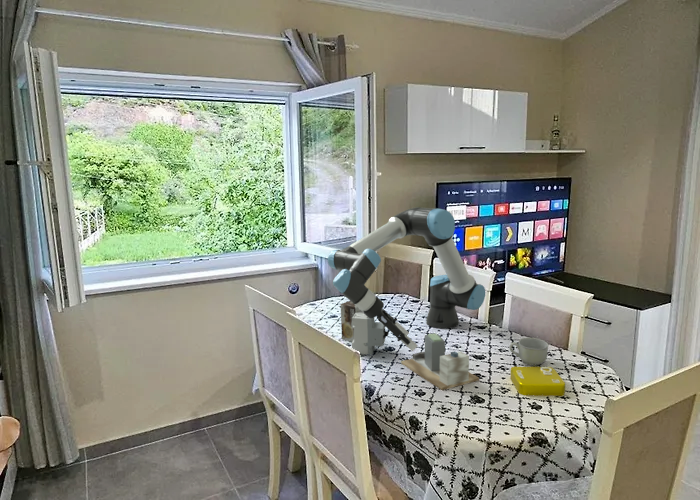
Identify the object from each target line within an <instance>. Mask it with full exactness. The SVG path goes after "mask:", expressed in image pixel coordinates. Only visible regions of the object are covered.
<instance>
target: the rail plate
mask: <svg viewBox="0 0 700 500" xmlns="http://www.w3.org/2000/svg"><path fill="white" fill-rule="evenodd" d="M400 363H401V365H403V366H404V367H406V368H407V369H409V370H410V371H412V372H413V373H414V374H416V375H418V376H419V377H421V378H423V379H424V381H427V382H428V383H430V384H432V385H433V386H435V387H436V388H437V389H439V390H441V391H444V390H448V389H452V388H455V387H459V386H463V385H467V384H470V383H475V382H479V381H480V377H478V376H477V375H475V374H473V373H471V372H470V367H469V366H470V355H469V354H467V353H464V352H463V351H451V352H450V353H448V354H445V355H443V356H440V371H431V370H430V369H429V368H428V366H427V365H426V364H425V350H424V351H420V352H416V353H415V352H414V353H412V358H409V359H405V360H401V361H400Z"/></svg>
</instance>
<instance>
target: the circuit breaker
mask: <svg viewBox="0 0 700 500" xmlns="http://www.w3.org/2000/svg"><path fill="white" fill-rule="evenodd" d="M375 320H376V319H375V317H374V318H372V319H370V318H369V317H367V316H366V315H365V314H364V313H355V314H354V316H353V317H352V323H351V325H352V328H354V340H353V342H351V349H352V348H353V349H355V350H357V351H359V352H360V353H362V354H361V355H367V354H371V355H373V353H374V352H375V349H376V347H383V346H384V344H385V341H386V337H388V336H389V334H390V333H389V331H390V330H386V327H385V326H384V325H383V324H382V323H381V322H377V321H375ZM371 355H370V356H371Z"/></svg>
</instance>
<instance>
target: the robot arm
mask: <svg viewBox="0 0 700 500" xmlns="http://www.w3.org/2000/svg"><path fill="white" fill-rule="evenodd" d="M455 221H456V220H455V218H454V216H453V214H452V213H451V212H450V211H448V210H446V209H442V208H437V207H436V208H431V207H430V208H429V207H420V206H418V207H412V208H407V209H405V210H402V211H401V212H399V213H397V214H395V215H393V216H391V217H390V218H389V219H388V222H386V223H385V224H383V225H382V226H380V227H378V228H376V229H375V230H373V231H372V232H370V233H368V234H367V235H364V236H363V237H361V238H360V239H358V240H357V241H355V242H353V243H352V244H350V245H347V247H345V248H343V249H333V250H332V251H331V252H329V254H328V255H327V264H328V266H329V267H330V268H331V269H334V270H337V271H338V274H337V275H336V276H335V277H334V279H333V280H332V281H333V282H332V285H333V286H334V288H335V289H336V290H337V291H338V292H339V293H340V294H341V295H343V296H344V297H345V298H346V299H347V300H349V301H351V302H352V303H353V304H354V305H356V306H355V308H357V307H358V308H359V309H360V310H361V311H363V313H364V314H365V315H366V316H367V317H369V318H370V319H372V318H374V319H375V318H377V321H379V322H381V323H382V324H383V325H384V326H385V328H386V329H388V331H390V333H391V334H393V335H394V337H395V338H396V339H397V342H401V343H402V344H404V345H405V346H406V347H407V348H408V349H409V350H410V351H411V352H414V351H415V350H416V349H417V347H419V345H418V344H417V343H416V342H415V341H414V340H412V339H411V338H410V337H409V336H408V335H409V334H410V332H409V331H408V330H407V329H406V328H405V327H404V326H402V324H400V323H399V322H398V319H397V318H396V317H393V316H392V315H391V314H389V312H387V311H386V310H385V309H383V308H384V306H385V303H384V302H383V301H382V300H381V299H380V298H379V297H377V296H376V294H375V293H373V291H372V290H371V289H369V288H368V287H367V286H366V285H365V284H366V283H367V282H368V281H369V279H370V278H371V276H372V275H373V273H375V271H376V270H377V269H378V267H379V266H380V264H381V262H382V258H381V256H380V255H379V253H378V251H380V250H382V248H384V247H385V246H388V245H389V244H391V243H392V242H394V241H395V240H397V239H403V238H405V237H407V236H421V237H423V238H424V240H425V242H426V243H427V245H428V246H430V247H432V249H434V252H435V253H436V256H437V258H438V260H439V263H440V264H441V266H442V268H443V270H444V273H445V274H439V275H435V276H433V277H432V278H430V285H429V305H430V306H429V310H428V313H427V316H426V321H425V322H426V325H428V326H429V327H432V328H435V329H453V328H456V327H458V326H459V324H460V323H459V322H460V320H459V317H458V312H457V310H456V309H457V308H463V309H465V310H469V311H470V310H471V311H472V310H473V311H476V310H478V309H480V308H481V307H482V305H483V303H484V301H485V297H486V288H485V285H482V284H481V283H479V284H478V283H477V282H476V279H475V278H474V276H473V275H471V274H469V273H468V270H467V267H466V266H465V263H464V262H463V259H462V257H461V255H460V251H458V248H457V246H456V244H455V242H454V240H453V236H454V233H455V230H456V226H455V225H456V222H455ZM456 307H457V308H456Z"/></svg>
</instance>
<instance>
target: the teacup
mask: <svg viewBox="0 0 700 500" xmlns="http://www.w3.org/2000/svg"><path fill="white" fill-rule="evenodd" d="M514 346H515V347H516V349H517V350H518V351H517V352H516V351H515V350H514V349H513V347H514ZM508 348H509V351H510V352H511V353H512V354H513V355H515V356H516V357H517V358H519V360H521V361H522V362H523V363H524V364H526V365H528V366H540V365H541V364H543V363H545V362H546V361H547V358H548V349H549V343H548V342H547V341H546V340H543V339H542V338H538V337H522V338H520V339H519V340H518V342H511V343H510V344H509V347H508Z"/></svg>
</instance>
